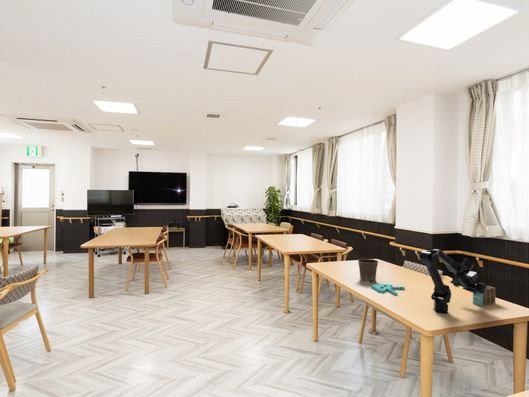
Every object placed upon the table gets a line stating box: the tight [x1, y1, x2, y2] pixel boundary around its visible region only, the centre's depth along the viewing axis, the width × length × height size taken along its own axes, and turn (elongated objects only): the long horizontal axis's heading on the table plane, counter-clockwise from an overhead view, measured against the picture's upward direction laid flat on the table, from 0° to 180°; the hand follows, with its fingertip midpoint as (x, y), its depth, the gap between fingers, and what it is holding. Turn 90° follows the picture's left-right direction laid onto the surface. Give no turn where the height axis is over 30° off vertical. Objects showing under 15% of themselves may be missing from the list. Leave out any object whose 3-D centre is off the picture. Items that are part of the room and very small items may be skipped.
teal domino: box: [472, 293, 484, 307], centre depth 200 cm, size 2×5×10 cm, turn 22°
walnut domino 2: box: [486, 288, 492, 305], centre depth 203 cm, size 2×5×10 cm, turn 21°
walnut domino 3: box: [486, 285, 496, 305], centre depth 205 cm, size 2×5×10 cm, turn 21°
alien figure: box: [371, 283, 406, 296], centre depth 233 cm, size 20×2×20 cm
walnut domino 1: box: [483, 289, 488, 306], centre depth 202 cm, size 2×5×10 cm, turn 21°
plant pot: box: [357, 258, 379, 282], centre depth 260 cm, size 16×16×16 cm
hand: (475, 293), depth 200 cm, fingers closed
